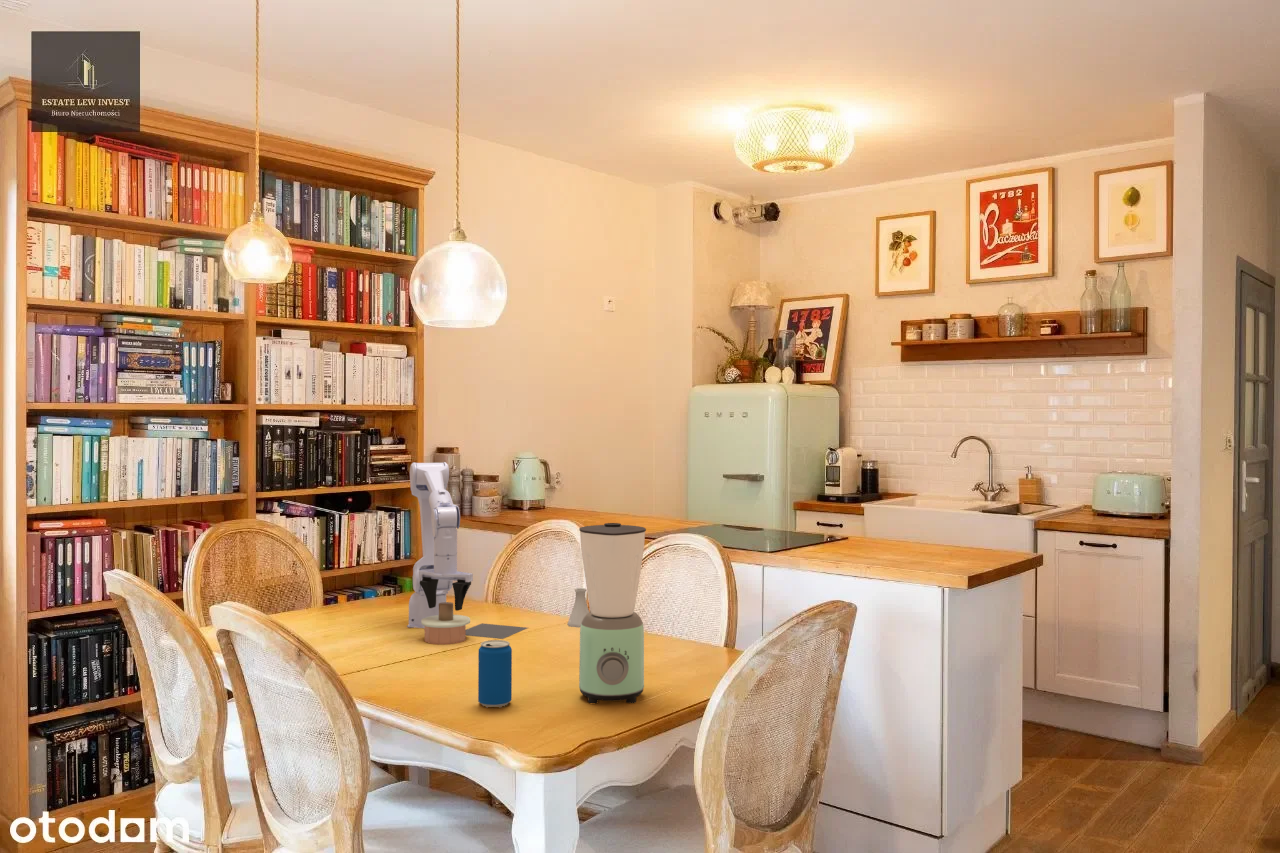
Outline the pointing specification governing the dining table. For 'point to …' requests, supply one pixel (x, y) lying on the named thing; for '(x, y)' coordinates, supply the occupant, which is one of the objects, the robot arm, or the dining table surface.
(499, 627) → the mat
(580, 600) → the flask
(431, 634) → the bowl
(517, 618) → the dining table surface
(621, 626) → the green blender
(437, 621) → the lid
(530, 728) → the dining table surface
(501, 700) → the beverage can
